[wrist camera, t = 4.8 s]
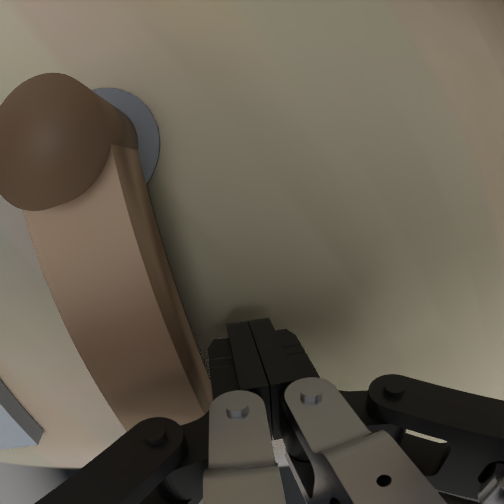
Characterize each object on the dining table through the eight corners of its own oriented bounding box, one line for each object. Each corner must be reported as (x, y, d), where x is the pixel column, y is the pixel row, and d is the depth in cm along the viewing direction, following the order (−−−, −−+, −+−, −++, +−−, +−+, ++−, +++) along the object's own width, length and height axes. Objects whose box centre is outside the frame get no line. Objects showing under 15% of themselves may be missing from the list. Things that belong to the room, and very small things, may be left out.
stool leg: (52, 123, 9) (-19, 107, 4) (128, 94, 9) (87, 52, 5) (151, 401, 12) (144, 481, 8) (215, 387, 13) (227, 469, 8)
